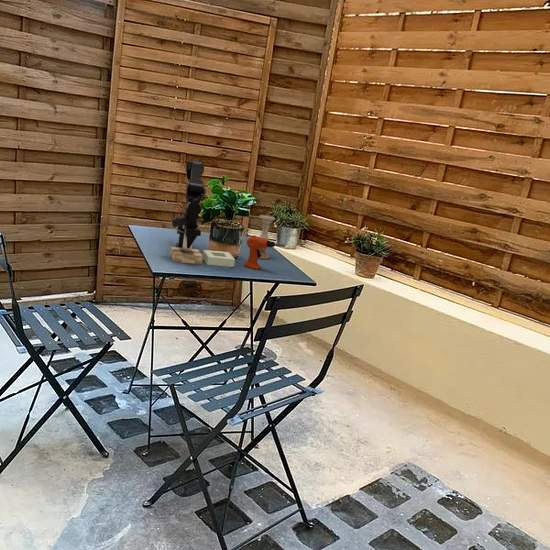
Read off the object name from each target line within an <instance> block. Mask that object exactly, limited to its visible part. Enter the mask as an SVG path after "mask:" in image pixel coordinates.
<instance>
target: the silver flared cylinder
mask: <svg viewBox="0 0 550 550" xmlns="http://www.w3.org/2000/svg"><path fill="white" fill-rule="evenodd" d="M192 249H193V244H192V245H191V247H190V248H187V236H186V235H185V234H184V240H183V248H182V253H191V250H192Z"/></svg>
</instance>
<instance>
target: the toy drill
mask: <svg viewBox="0 0 550 550" xmlns="http://www.w3.org/2000/svg"><path fill="white" fill-rule="evenodd" d="M246 245H247V247H248V248H249V254H248V259H247V261H245V262H244V265H243V266H244V267H245V268H248V269H252V270H255V269H260V270H261V268H262V266H261V265H260V264H259V263H258V261H259V260H258V259H259V257H261V254H260V250H258V249H261V248H266V247H267V249H268V248H274V247H282V248H285V247H286V245H285V244H281V243H276V242H274V241H272V240H270V239H269V240H267V239H264V238H260V236H257V235H252V236H250V237H249V238H247V240H246Z"/></svg>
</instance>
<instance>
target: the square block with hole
mask: <svg viewBox="0 0 550 550" xmlns="http://www.w3.org/2000/svg"><path fill="white" fill-rule="evenodd" d="M201 255H202V256H203V258H202V260H203V261H204V262H205V264H206V265H209V266H218V267H219V266H220V267H229V268H230V267H231V268H235V263H236V259H235V257H234V256H233V255H232V254H231V253H230V252H229V251H220V250H208V249H202V253H201Z"/></svg>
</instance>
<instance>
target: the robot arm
mask: <svg viewBox="0 0 550 550" xmlns="http://www.w3.org/2000/svg"><path fill="white" fill-rule="evenodd" d="M205 166H206V165H205V164H203V162H201V161H198V160H194V159H192V160H190V161H186V163H185V166H184V173H185V177H186V180H187V183H186V187H185V197H184V198H185V207H184V212H183V213H182V215H178V216H174V217H170V222H171V226H172V227H173V228H177V229H176V234H177V235H179V237H178V242H176V247H180V248H183V240H184V234H185V235H186V236H187V248H190V247H191V245H192V246H193V243H194V242H195V240H196V239H197V238H198V237H201V235H202V231H201V230H200V229H199V224H198V221H199V219H200V214H201V212H202V206H201V202H202V201H203V202H204V201H205V199H206V193H207V189H206V187H205V186H204V181H203V180H202V175H204V173H205Z"/></svg>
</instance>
